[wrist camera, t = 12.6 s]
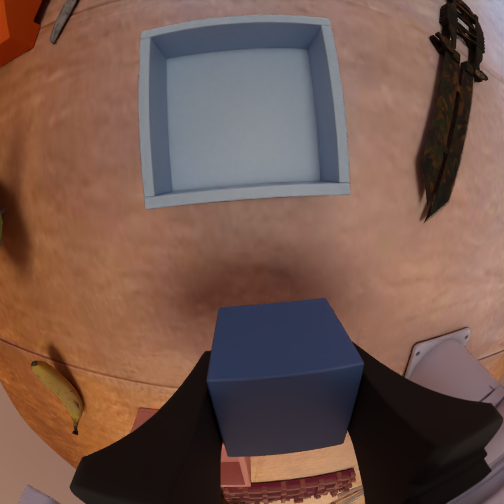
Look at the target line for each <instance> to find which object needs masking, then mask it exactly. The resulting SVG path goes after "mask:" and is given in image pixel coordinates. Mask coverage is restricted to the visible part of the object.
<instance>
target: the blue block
mask: <svg viewBox="0 0 504 504" xmlns="http://www.w3.org/2000/svg"><path fill="white" fill-rule="evenodd" d="M363 367H364V362H363V360H362V358H361V356H360V355H359V353H358V351H357V349H356V348H355V346H354V344H353V343H352V341H351V339H350V338H349V336H348V334H347V333H346V331H345V329H344V328H343V326H342V324H341V323H340V321H339V319H338V318H337V316H336V314H335V313H334V311H333V309H332V308H331V306H330V305H329V303H328V301H327V300H326V298H318V299H309V300H300V301H290V302H280V303H269V304H257V305H244V306H230V307H219V309H218V315H217V320H216V326H215V332H214V338H213V344H212V350H211V356H210V362H209V368H208V374H207V380H206V381H207V385H208V389H209V393H210V397H211V401H212V404H213V408H214V412H215V415H216V419H217V423H218V426H219V430H220V433H221V436H222V440H223V443H224V446H225V450H226V453H227V456H228V457H250V456H266V455H277V454H286V453H294V452H301V451H308V450H314V449H320V448H325V447H330V446H335V445H340V444H343V443H344V440H345V437H346V433H347V430H348V427H349V423H350V420H351V416H352V413H353V409H354V405H355V402H356V398H357V394H358V390H359V385H360V381H361V376H362V372H363Z"/></svg>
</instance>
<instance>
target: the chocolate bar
mask: <svg viewBox="0 0 504 504" xmlns="http://www.w3.org/2000/svg"><path fill="white" fill-rule="evenodd" d="M355 476H356V474H355V471H354V468H353V469H350V470H345V471H341V472H337V473H332V474H327V475H322V476H317V477H311V478H305V479H298V480H290V481H282V482H271V483H256V484H251V487H224V488H223V494H222V495H223V496H225V499H226V501H227V502H228V504H238V502H245V503H246V504H251V503H255V504H260V503H259V502H264V504H268V503H273V501H277V500H281V503H284V502H285V501H290V499H291V498H294V503H301V502H303V499H306V498H311V496H312V495H314V498H316V499H319V498H320V497H321V496H320V495H327V494H328V492H330V494H331V495H332V497H334V496H336V495H337V493H338V490H339V492H345V493H346V492H349V491H350V490H349V488H352V484H351V483H352V482H355V481H356V479H355Z"/></svg>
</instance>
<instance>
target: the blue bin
mask: <svg viewBox="0 0 504 504" xmlns="http://www.w3.org/2000/svg"><path fill="white" fill-rule="evenodd" d="M139 135H140V154H141V167H142V179H143V189H144V197H145V199H144V200H145V208H146V209H155V208H163V207H172V206H181V205H190V204H200V203H211V202H222V201H234V200H247V199H262V198H278V197H297V196H323V195H350V173H349V154H348V139H347V128H346V117H345V108H344V99H343V92H342V84H341V77H340V71H339V65H338V59H337V53H336V48H335V42H334V37H333V33H332V28H331V24H330V19H328V18H319V17H309V16H294V15H242V16H228V17H217V18H209V19H201V20H194V21H188V22H182V23H177V24H172V25H167V26H163V27H158V28H154V29H150V30H146V31H143V32H141V42H140V59H139Z"/></svg>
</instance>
